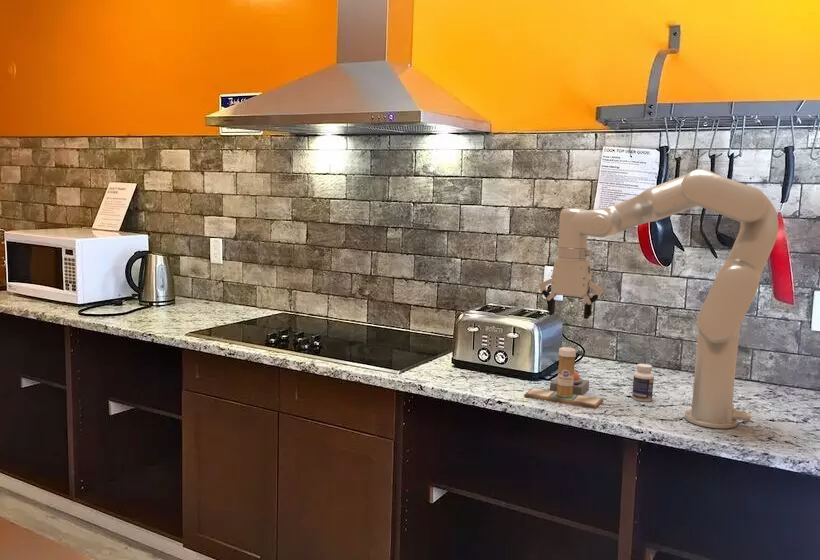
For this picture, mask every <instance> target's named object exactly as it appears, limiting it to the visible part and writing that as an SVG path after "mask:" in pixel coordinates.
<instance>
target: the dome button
mask: <svg viewBox="0 0 820 560" xmlns="http://www.w3.org/2000/svg"><path fill="white" fill-rule="evenodd" d="M582 379H583V378H582V377H580V374H579V372H578V371H576V369H574V384H573V385H577V384H578V383H581V382H582Z"/></svg>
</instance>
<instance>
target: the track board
mask: <svg viewBox="0 0 820 560" xmlns="http://www.w3.org/2000/svg"><path fill="white" fill-rule="evenodd" d="M556 394H557V391H550V389H542V388H537V387H532V388H530V390H528V391H527V392H526V393H524V394H523V396H524V397H523V398H527V399H531V400H538V399H540V400H539V401H544V400H546V401H545V402H550V401H552V402H551V403H556V402H558V403H557V404H562V403H564V405H569V404H570V406H575V405H576V407H581V406H582V407H583V408H587V409H593V408H594V410H597V409H598V408H599V407H600V405H601V404H602V403H603V402H604V399H603V398H601V397H594V396H588V395H576V394H573V396H572V397H571V398H563V397H559V396H557V395H556ZM596 408H597V409H596Z"/></svg>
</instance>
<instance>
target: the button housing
mask: <svg viewBox="0 0 820 560" xmlns="http://www.w3.org/2000/svg"><path fill="white" fill-rule="evenodd" d="M557 385H558V376H557V377H555V378H554V379H553V380H552V381H551V382H549V390H550V391H557ZM589 389H590V380H589V379H583V378H582V382H581V383H578V384H577V385H573V394H576V395H582V396H584V394H585V393H587V392H588V390H589Z"/></svg>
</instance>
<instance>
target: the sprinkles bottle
mask: <svg viewBox="0 0 820 560" xmlns="http://www.w3.org/2000/svg"><path fill="white" fill-rule="evenodd" d="M558 356H559V357H558V370H557V377H558V385H557V394H556V395H557V396H559V397H563V398H571V397H572V396H573V384H574V370H575V362H576V360H575V359H576V356H577V350H576V349H575V348H573V347H570V346H563V347H559V349H558Z"/></svg>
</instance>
